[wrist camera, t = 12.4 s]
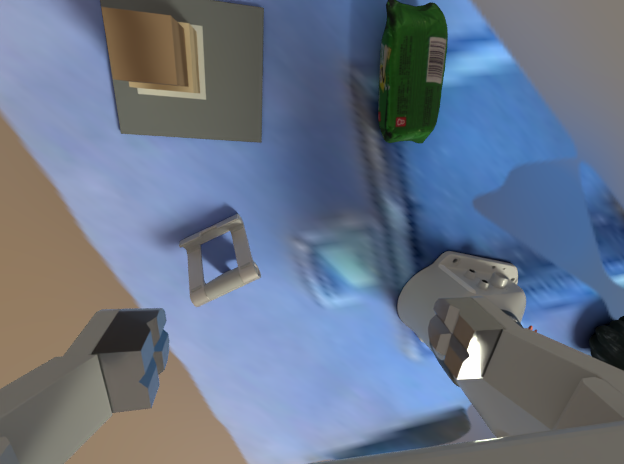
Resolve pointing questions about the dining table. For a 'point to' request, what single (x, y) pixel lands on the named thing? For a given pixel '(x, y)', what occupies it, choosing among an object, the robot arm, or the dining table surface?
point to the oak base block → (191, 66)
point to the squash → (609, 343)
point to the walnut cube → (145, 47)
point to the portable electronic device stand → (229, 279)
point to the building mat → (202, 75)
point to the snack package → (411, 71)
